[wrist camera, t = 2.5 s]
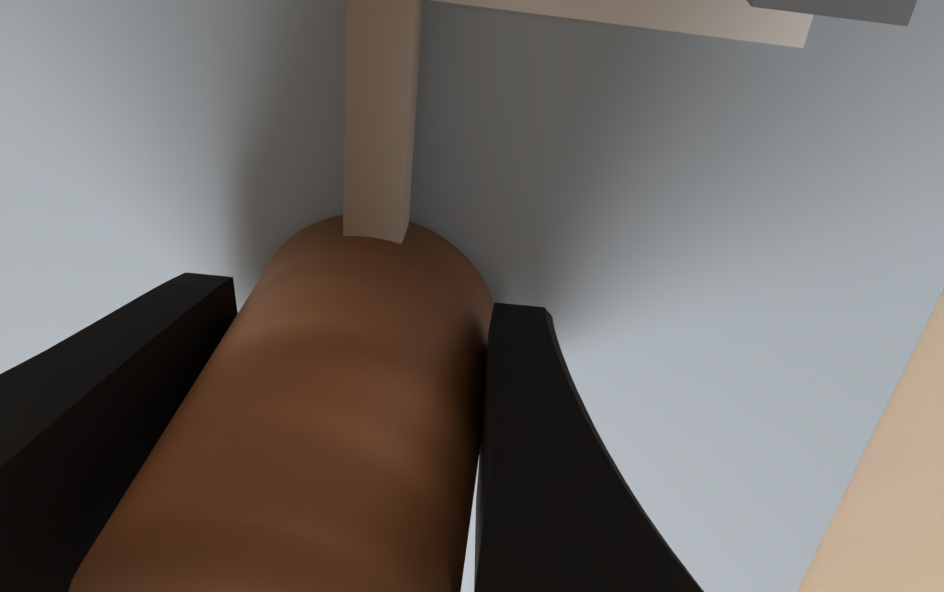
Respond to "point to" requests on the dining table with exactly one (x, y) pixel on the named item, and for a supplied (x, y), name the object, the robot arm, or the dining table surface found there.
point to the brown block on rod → (327, 390)
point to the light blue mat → (536, 209)
